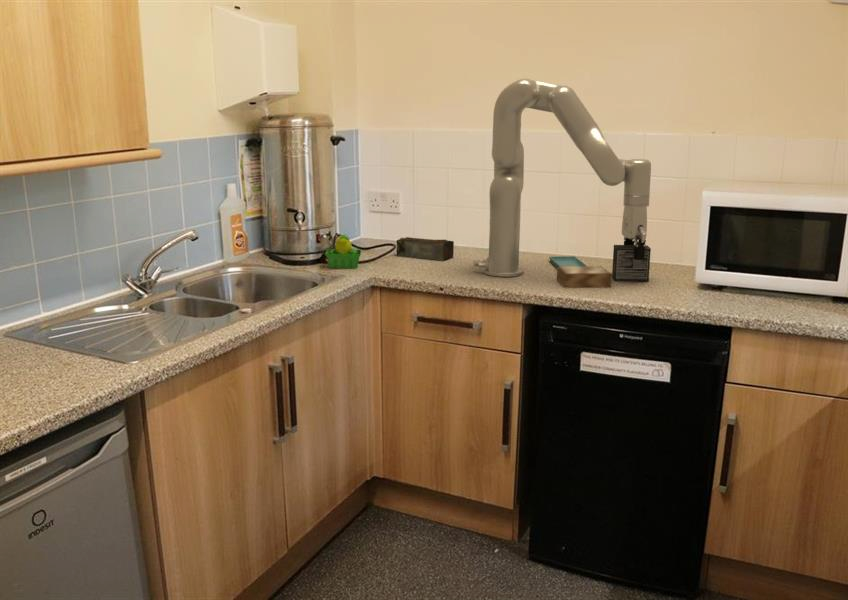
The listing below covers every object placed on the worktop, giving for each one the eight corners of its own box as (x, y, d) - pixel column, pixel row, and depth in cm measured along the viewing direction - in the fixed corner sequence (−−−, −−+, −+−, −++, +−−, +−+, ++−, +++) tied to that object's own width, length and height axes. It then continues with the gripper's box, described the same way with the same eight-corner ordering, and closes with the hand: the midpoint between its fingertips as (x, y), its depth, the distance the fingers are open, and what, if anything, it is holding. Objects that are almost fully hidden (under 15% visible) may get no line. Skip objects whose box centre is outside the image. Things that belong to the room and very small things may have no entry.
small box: (645, 277, 248) (648, 244, 246) (649, 282, 242) (651, 248, 239) (611, 276, 249) (613, 243, 247) (613, 281, 243) (616, 247, 240)
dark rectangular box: (406, 252, 285) (406, 234, 283) (454, 258, 276) (455, 239, 275) (395, 256, 278) (395, 238, 276) (444, 262, 269) (445, 243, 268)
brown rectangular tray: (564, 287, 234) (565, 273, 233) (556, 279, 244) (557, 266, 243) (610, 287, 235) (611, 272, 234) (601, 279, 245) (602, 265, 244)
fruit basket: (361, 264, 264) (361, 230, 262) (360, 270, 256) (360, 235, 253) (327, 264, 264) (326, 230, 261) (325, 270, 256) (324, 235, 253)
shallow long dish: (548, 262, 272) (548, 255, 271) (574, 262, 272) (575, 255, 271) (565, 279, 246) (566, 271, 246) (594, 279, 247) (595, 271, 246)
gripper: (615, 197, 247) (613, 251, 252) (633, 204, 231) (630, 262, 235) (639, 197, 248) (636, 250, 252) (658, 204, 231) (655, 261, 235)
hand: (633, 256), depth 244 cm, fingers open, 9 cm apart
